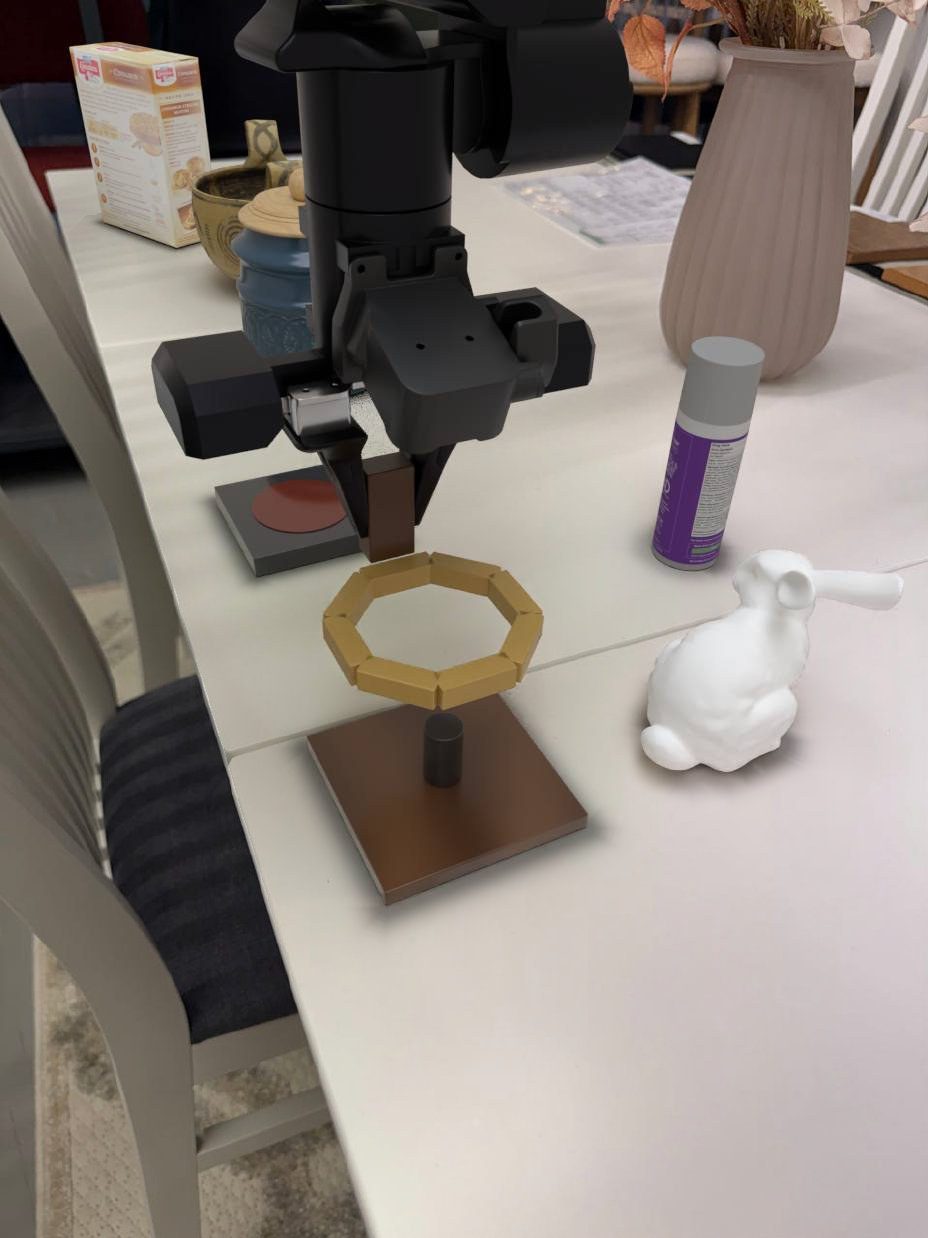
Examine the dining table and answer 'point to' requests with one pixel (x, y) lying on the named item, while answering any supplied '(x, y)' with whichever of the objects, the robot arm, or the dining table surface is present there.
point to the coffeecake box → (144, 136)
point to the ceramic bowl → (238, 192)
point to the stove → (287, 519)
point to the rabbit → (747, 663)
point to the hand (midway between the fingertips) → (386, 528)
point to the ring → (396, 537)
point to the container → (706, 450)
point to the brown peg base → (441, 791)
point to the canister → (275, 271)
